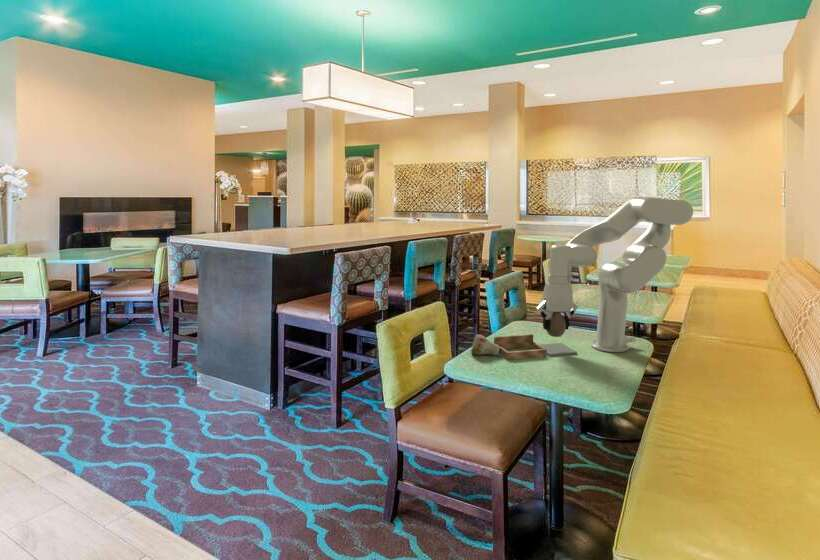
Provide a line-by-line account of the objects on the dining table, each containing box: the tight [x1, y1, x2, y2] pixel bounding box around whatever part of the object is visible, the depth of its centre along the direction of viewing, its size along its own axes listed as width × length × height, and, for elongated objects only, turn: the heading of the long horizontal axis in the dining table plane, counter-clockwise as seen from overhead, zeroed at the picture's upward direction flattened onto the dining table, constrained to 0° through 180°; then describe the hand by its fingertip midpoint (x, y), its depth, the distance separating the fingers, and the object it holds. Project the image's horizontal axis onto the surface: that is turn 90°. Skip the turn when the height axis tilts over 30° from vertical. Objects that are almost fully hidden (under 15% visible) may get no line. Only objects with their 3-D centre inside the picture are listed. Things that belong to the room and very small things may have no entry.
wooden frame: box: [493, 333, 548, 361], centre depth 186 cm, size 15×11×5 cm
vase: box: [546, 312, 566, 338], centre depth 188 cm, size 7×7×9 cm
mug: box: [470, 334, 500, 356], centre depth 185 cm, size 8×10×10 cm
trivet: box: [539, 342, 578, 357], centre depth 190 cm, size 11×11×1 cm
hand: (555, 328), depth 188 cm, fingers closed on vase, 6 cm apart
